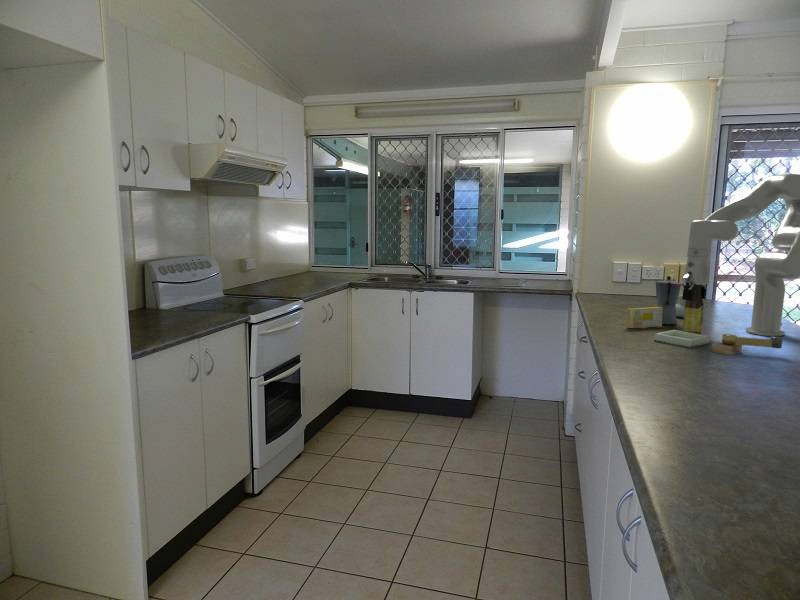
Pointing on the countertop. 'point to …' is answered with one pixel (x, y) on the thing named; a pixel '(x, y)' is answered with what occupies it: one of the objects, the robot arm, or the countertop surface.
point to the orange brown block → (726, 348)
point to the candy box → (644, 317)
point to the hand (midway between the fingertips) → (693, 299)
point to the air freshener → (680, 307)
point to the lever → (752, 341)
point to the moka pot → (667, 299)
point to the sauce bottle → (694, 312)
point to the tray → (682, 338)
